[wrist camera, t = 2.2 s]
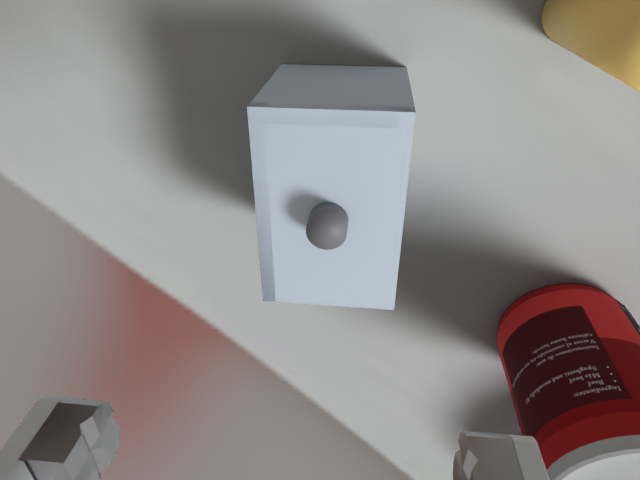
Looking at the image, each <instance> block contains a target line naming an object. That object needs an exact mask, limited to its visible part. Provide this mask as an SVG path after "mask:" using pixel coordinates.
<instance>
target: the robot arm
mask: <svg viewBox="0 0 640 480" xmlns="http://www.w3.org/2000/svg"><path fill="white" fill-rule="evenodd" d="M112 412H113V409H112V407H111V404H110V402H108V401H98V400H87V399H78V398H69V397H60V396H48V395H45V396H43V397H42V398H40V399H39V400H38V401H37V402H36V403H35V404H34V406H33V407H32V408H31V410H30V411H29V412H28V414H27V415H26V416H25V418H24V419H23V421H22V422H21V423H20V425H19V426H18V427H17V429H16V430H15V431H14V433H13V434H12V435H11V437H10V438H9V439H8V441H7V442H6V443H5V445H4V446H3V448H2V449H1V450H0V480H101V474H100V472H102V471H103V470H104V469H105V468H107V467H108V466H109V465H111V464H112V462H113V459H114V457H115V455H116V453H117V450H118V446H119V442H120V429H119V426H118V423H117V422H116V421H114V420H113V419H112V418H111V417H110V416H111V414H112ZM459 447H460V450H459V451H457V452H456V453H455V457H454V462H453V480H549V477H548V474H547V471H546V468H545V465H544V461H543V458H542V455H541V452H540V449H539V446H538V443H537V441H536V440H535V438H534V437H532V436H523V435H508V434H506V433H491V432H476V431H462V432H461V433H460V437H459Z"/></svg>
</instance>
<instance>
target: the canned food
mask: <svg viewBox="0 0 640 480" xmlns="http://www.w3.org/2000/svg"><path fill="white" fill-rule="evenodd" d="M497 346H498V350H499V354H500V357H501V361H502V364H503V368H504V371H505V375H506V379H507V382H508V386H509V389H510V393H511V396H512V400H513V404H514V407H515V411H516V414H517V418H518V421H519V425H520V429H521V432H522V435H523V436H532V437H534V438H535V440H536V441H537V443H538V446H539V449H540V452H541V455H542V458H543V461H544V465H545V468H546V471H547V474H548V477H549V480H640V327H639V325H638V324H637V322H636V321H635V319H634V318H633V316H632V315H631V313H630V312H629V311H628V310H627V309H626V307H625V306H624V305H623V304H621V303H620V302H618V301H617V300H616V299H614V298H613V297H612V296H610V295H609V294H607V293H605V292H603V291H601V290H599V289H597V288H594V287H590V286H586V285H579V284H558V285H552V286H547V287H543V288H540V289H537V290H534V291H532V292H530V293H528V294H526V295H524V296H522V297H521V298H519V299H518V300H517V301H515V302H514V303H513V304H512V305H511V306H510V307H509V308H508V309H507V310H506V311H505V313H504V315H503V316H502V318H501V320H500V324H499V327H498V334H497Z"/></svg>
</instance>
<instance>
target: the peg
mask: <svg viewBox="0 0 640 480" xmlns="http://www.w3.org/2000/svg"><path fill="white" fill-rule="evenodd" d="M542 26H543V29H544V32H545V33H546V35H547V36H548V37H549V38H550V39H551V40H552V41H553V42H555V43H557V44H559V45H560V46H562V47H564V48H565V49H567V50H569V51H571V52H572V53H574V54H576V55H577V56H579V57H581V58H583V59H584V60H586V61H588V62H589V63H591V64H593V65H594V66H596V67H598V68H600V69H601V70H603V71H605V72H606V73H608V74H610V75H612V76H613V77H615V78H617V79H618V80H620V81H622V82H624V83H625V84H627V85H629V86H630V87H632V88H634V89H636V90H638V91H640V0H546V2H545V4H544V7H543V11H542Z"/></svg>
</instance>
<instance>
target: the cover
mask: <svg viewBox="0 0 640 480" xmlns="http://www.w3.org/2000/svg"><path fill="white" fill-rule="evenodd" d="M415 113H416V112H415V107H414V102H413V97H412V92H411V87H410V82H409V77H408V72H407V67H376V66H335V65H293V64H281V65H280V67H279V68H278V69H277V70H276V71H275V73H274V74H273V75H272V76H271V78H270V79H269V80H268V81H267V83H266V84H265V85H264V86H263V88H262V89H261V90H260V91H259V92H258V94H257V95H256V96H255V97H254V99H253V100H252V101H251V102H250V104H249V105H248V106H247V114H248V126H249V138H250V150H251V162H252V174H253V186H254V198H255V210H256V222H257V234H258V246H259V258H260V270H261V282H262V294H263V301H274V302H288V303H302V304H316V305H330V306H344V307H358V308H372V309H387V310H394V305H395V296H396V287H397V278H398V269H399V260H400V251H401V241H402V232H403V223H404V214H405V205H406V196H407V187H408V177H409V168H410V159H411V150H412V141H413V132H414V122H415Z"/></svg>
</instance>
